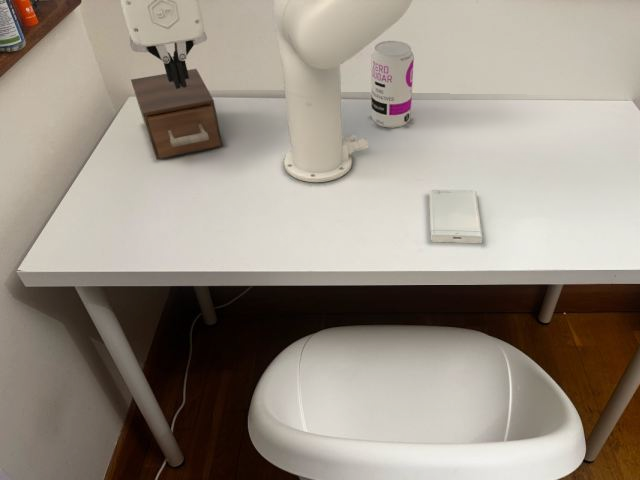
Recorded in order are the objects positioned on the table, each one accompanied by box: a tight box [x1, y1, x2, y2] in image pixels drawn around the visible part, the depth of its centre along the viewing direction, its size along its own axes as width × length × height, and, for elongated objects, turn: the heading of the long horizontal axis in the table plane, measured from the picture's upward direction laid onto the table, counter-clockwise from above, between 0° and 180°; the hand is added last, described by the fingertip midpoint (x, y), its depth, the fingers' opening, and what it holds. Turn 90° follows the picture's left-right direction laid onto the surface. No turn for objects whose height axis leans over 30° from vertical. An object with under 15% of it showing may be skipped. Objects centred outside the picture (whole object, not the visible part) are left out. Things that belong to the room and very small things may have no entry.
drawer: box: [147, 105, 221, 159], centre depth 107 cm, size 18×11×8 cm, turn 25°
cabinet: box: [130, 68, 224, 161], centre depth 110 cm, size 15×13×10 cm
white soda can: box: [370, 40, 415, 129], centre depth 114 cm, size 8×8×15 cm
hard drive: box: [428, 189, 484, 244], centre depth 94 cm, size 2×8×12 cm
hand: (179, 84), depth 87 cm, fingers closed
